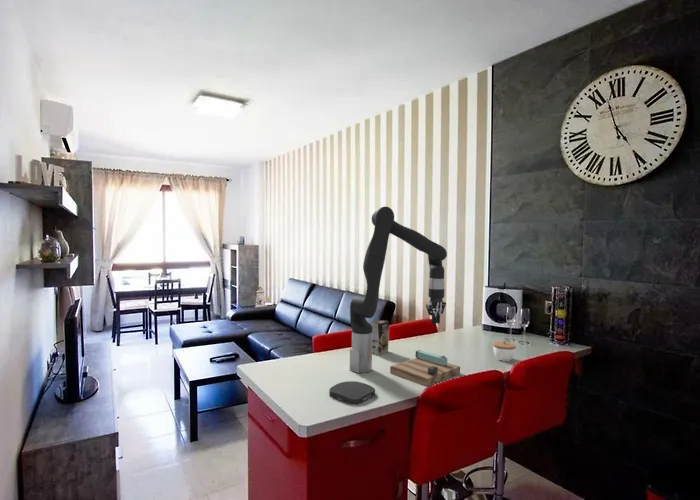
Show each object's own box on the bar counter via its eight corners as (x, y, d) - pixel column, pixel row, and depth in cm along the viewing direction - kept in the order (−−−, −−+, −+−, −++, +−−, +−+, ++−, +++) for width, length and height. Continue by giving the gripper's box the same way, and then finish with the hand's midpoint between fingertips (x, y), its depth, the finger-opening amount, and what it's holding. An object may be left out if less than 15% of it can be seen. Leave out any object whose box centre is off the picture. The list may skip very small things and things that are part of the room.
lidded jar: (517, 363, 187) (518, 344, 187) (494, 362, 189) (494, 343, 189) (513, 357, 198) (513, 339, 197) (490, 355, 200) (491, 337, 199)
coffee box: (379, 355, 197) (380, 323, 196) (368, 352, 201) (369, 321, 200) (388, 351, 204) (389, 320, 203) (378, 349, 208) (379, 319, 207)
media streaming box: (349, 385, 157) (349, 378, 157) (379, 395, 147) (379, 387, 147) (324, 396, 145) (325, 388, 145) (355, 407, 136) (355, 399, 136)
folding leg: (447, 364, 174) (447, 356, 174) (443, 365, 172) (443, 357, 172) (419, 356, 186) (419, 348, 186) (415, 357, 184) (415, 349, 184)
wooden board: (427, 386, 156) (427, 372, 156) (390, 372, 171) (390, 360, 171) (459, 373, 172) (460, 361, 172) (423, 362, 187) (423, 350, 187)
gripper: (438, 285, 193) (437, 320, 193) (421, 287, 184) (420, 324, 184) (451, 287, 187) (450, 323, 188) (434, 289, 178) (433, 327, 178)
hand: (435, 323), depth 186 cm, fingers closed
